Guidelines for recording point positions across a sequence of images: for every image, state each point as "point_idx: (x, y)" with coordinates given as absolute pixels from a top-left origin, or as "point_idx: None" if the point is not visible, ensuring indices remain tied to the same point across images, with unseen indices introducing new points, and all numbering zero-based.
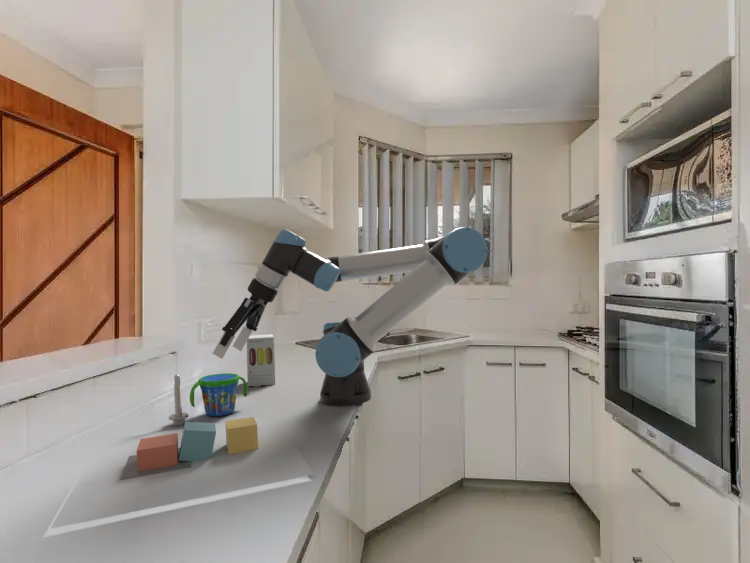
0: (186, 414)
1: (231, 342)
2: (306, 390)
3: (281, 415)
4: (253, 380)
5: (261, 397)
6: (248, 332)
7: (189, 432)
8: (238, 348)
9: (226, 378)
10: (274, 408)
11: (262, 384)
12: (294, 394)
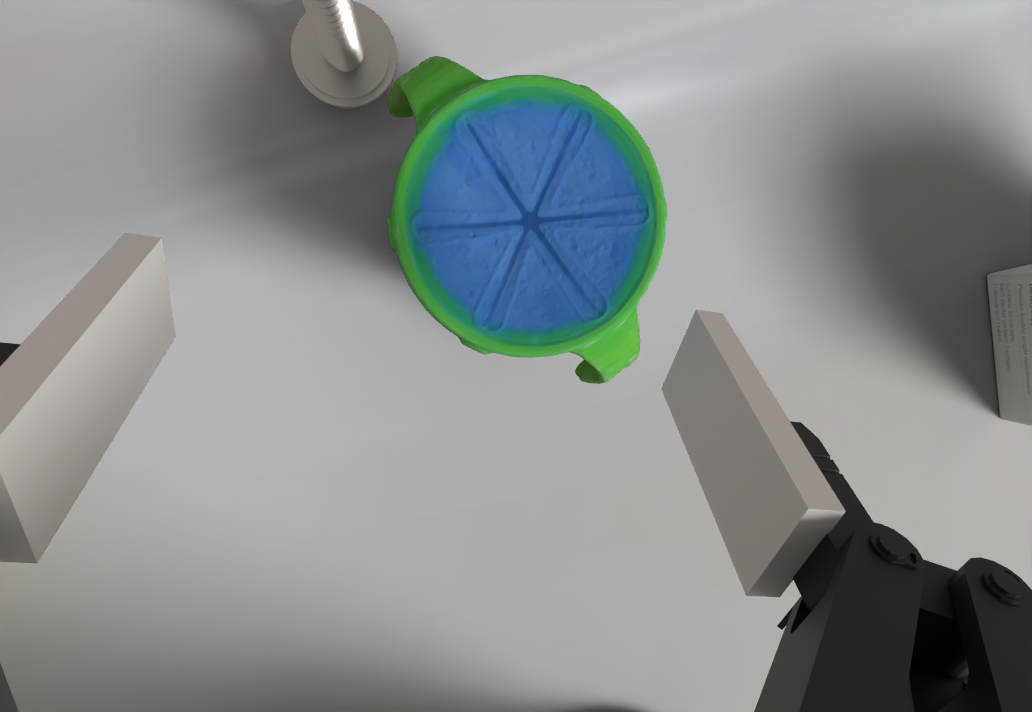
0: (347, 93)
1: (82, 479)
2: None
3: (405, 564)
4: (1020, 304)
5: None
6: (747, 542)
7: None
8: (676, 372)
9: (548, 268)
10: (533, 506)
11: (999, 352)
12: None
